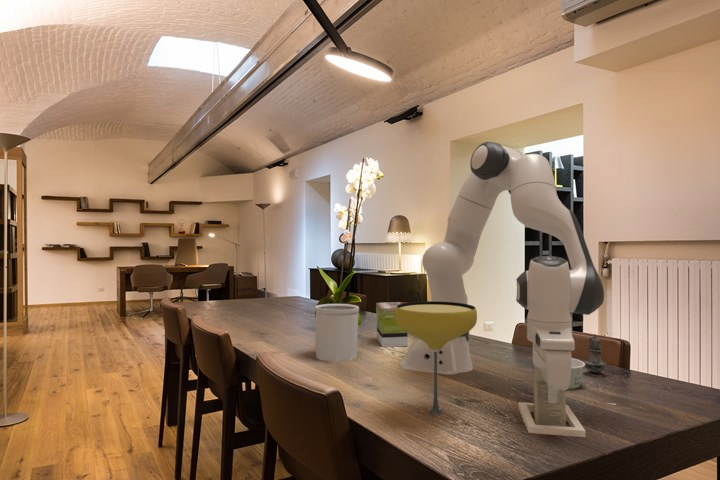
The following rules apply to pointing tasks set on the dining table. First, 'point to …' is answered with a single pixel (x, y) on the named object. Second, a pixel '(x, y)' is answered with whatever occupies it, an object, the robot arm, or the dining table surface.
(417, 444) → the dining table surface
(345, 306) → the utensil holder
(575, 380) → the food container
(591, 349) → the grey tiered upright piece
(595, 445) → the dining table surface
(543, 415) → the skincare box
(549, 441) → the dining table surface
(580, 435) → the beige flat frame
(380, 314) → the tea box
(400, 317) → the cocktail glass
